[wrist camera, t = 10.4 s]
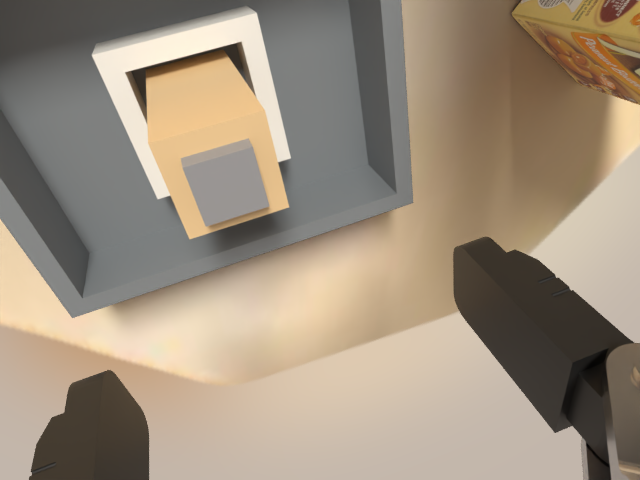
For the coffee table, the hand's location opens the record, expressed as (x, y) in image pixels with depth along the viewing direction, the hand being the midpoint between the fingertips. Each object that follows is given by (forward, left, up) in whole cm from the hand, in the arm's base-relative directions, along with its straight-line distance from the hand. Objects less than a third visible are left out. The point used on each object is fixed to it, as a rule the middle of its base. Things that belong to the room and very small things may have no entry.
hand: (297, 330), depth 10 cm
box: (0, 0, -19) cm, 19 cm away
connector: (0, 0, -18) cm, 18 cm away
